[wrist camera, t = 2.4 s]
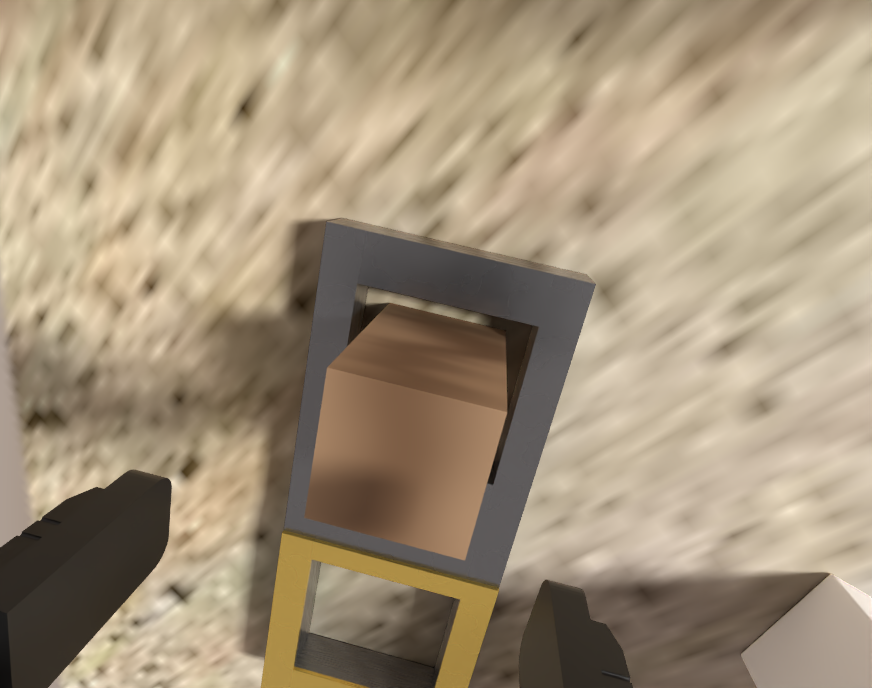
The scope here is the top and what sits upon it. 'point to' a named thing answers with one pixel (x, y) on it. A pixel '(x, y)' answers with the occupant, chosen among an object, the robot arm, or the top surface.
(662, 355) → the top surface
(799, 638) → the milk
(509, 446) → the gray slotted board
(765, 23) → the top surface
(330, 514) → the block
